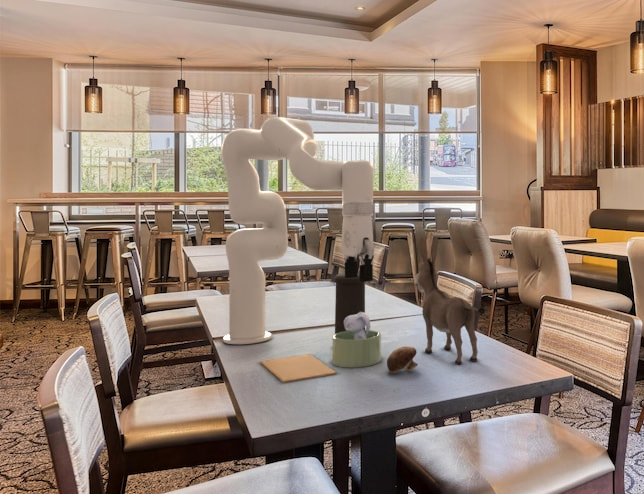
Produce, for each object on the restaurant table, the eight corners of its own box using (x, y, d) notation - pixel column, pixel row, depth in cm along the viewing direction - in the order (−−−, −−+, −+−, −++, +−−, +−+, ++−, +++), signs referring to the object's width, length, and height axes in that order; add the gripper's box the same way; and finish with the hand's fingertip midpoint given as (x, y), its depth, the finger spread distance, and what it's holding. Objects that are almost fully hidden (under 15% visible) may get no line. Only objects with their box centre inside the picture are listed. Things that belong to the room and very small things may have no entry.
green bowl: (326, 359, 155) (326, 333, 156) (369, 353, 162) (369, 327, 162) (342, 370, 146) (342, 342, 146) (388, 362, 152) (388, 336, 152)
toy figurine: (343, 357, 157) (343, 309, 157) (369, 355, 158) (369, 308, 158) (343, 364, 150) (343, 314, 150) (370, 362, 151) (370, 313, 152)
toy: (429, 340, 176) (429, 234, 176) (499, 367, 148) (499, 241, 149) (403, 344, 171) (403, 235, 171) (471, 372, 143) (471, 242, 144)
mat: (260, 362, 153) (260, 361, 153) (309, 355, 159) (309, 354, 159) (283, 382, 136) (283, 380, 136) (336, 373, 143) (336, 372, 143)
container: (370, 343, 173) (370, 271, 173) (360, 351, 164) (360, 275, 164) (340, 342, 173) (340, 271, 174) (328, 350, 165) (328, 275, 165)
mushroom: (430, 355, 147) (414, 334, 146) (416, 376, 139) (398, 355, 139) (407, 367, 150) (391, 347, 149) (392, 388, 143) (375, 367, 142)
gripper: (331, 210, 160) (331, 277, 159) (356, 210, 145) (357, 284, 145) (359, 209, 164) (359, 275, 164) (386, 210, 150) (387, 281, 149)
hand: (358, 279), depth 154 cm, fingers open, 9 cm apart
